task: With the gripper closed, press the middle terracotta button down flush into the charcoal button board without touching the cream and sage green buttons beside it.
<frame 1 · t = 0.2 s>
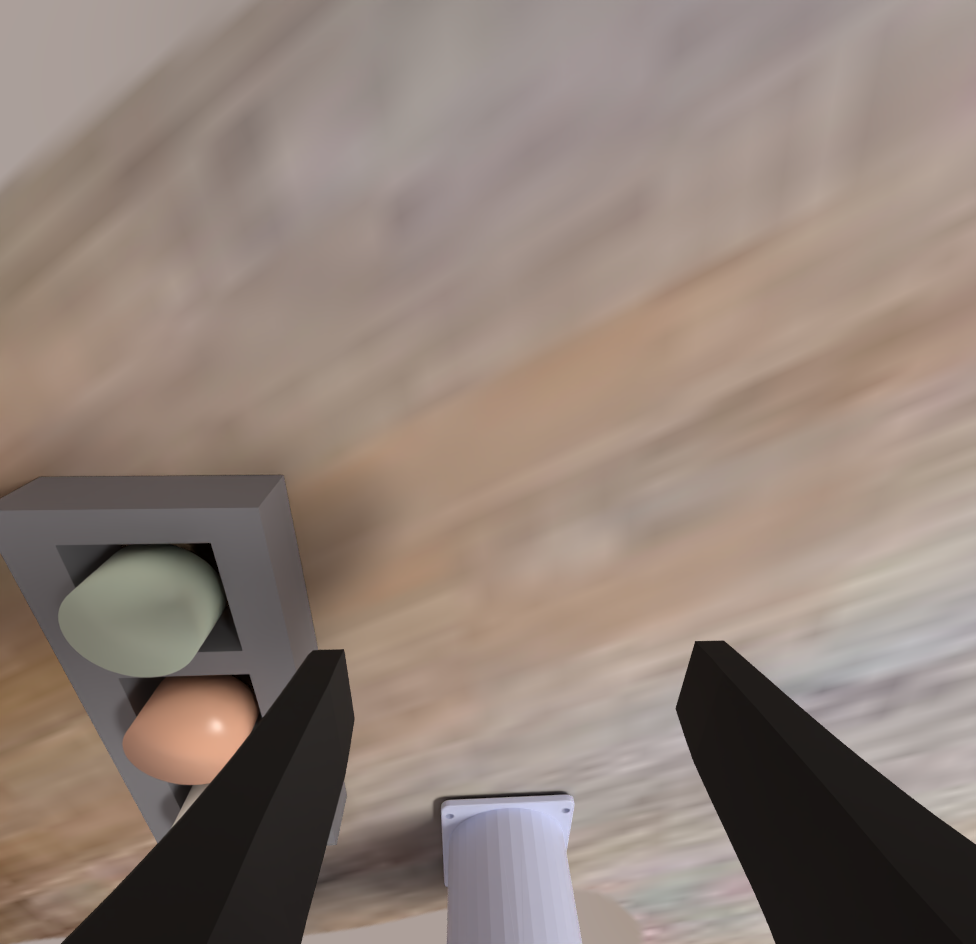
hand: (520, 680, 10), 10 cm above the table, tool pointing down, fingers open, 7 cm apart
cream button: (230, 814, 23), point 3 cm above the table, slide at 0.0 cm
button board: (226, 670, 22), on the table
sage button: (149, 609, 17), point 3 cm above the table, slide at 0.0 cm
terracotta button: (195, 726, 20), point 3 cm above the table, slide at 0.0 cm
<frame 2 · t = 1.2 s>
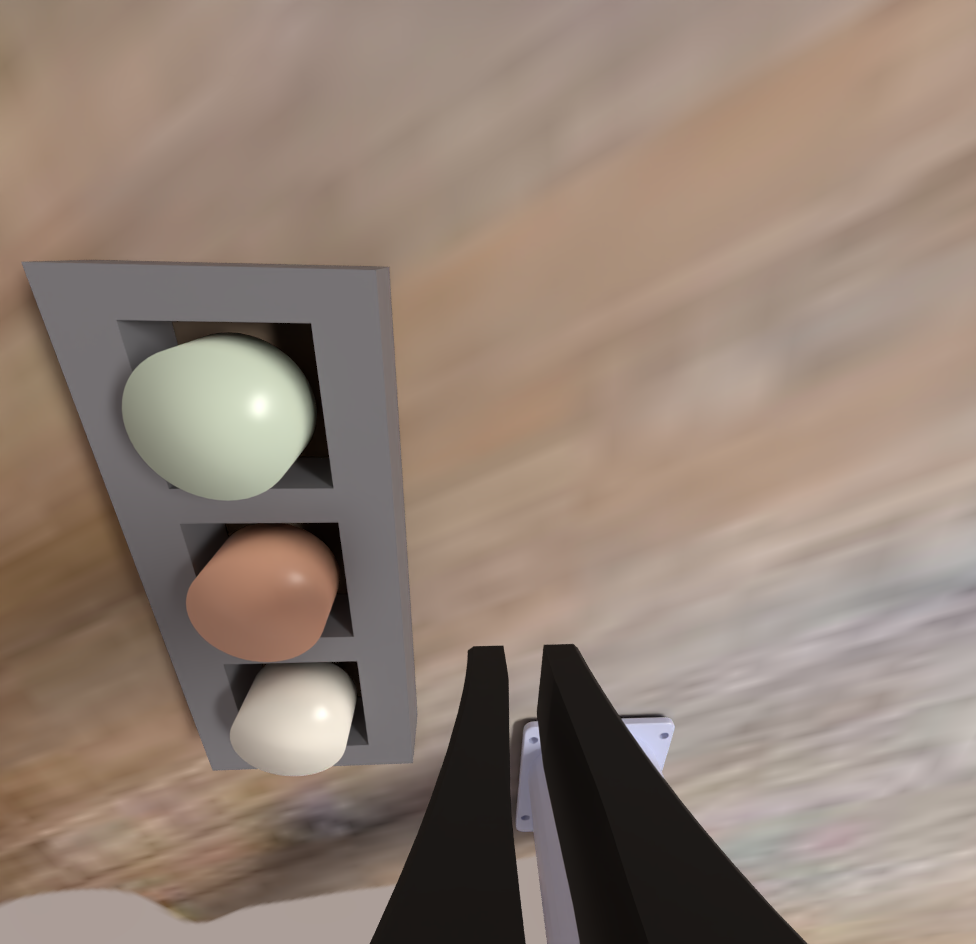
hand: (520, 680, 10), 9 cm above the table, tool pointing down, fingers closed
cream button: (297, 716, 19), point 3 cm above the table, slide at 0.0 cm
button board: (295, 544, 19), on the table
sage button: (228, 416, 13), point 3 cm above the table, slide at 0.0 cm
terracotta button: (269, 591, 16), point 3 cm above the table, slide at 0.0 cm
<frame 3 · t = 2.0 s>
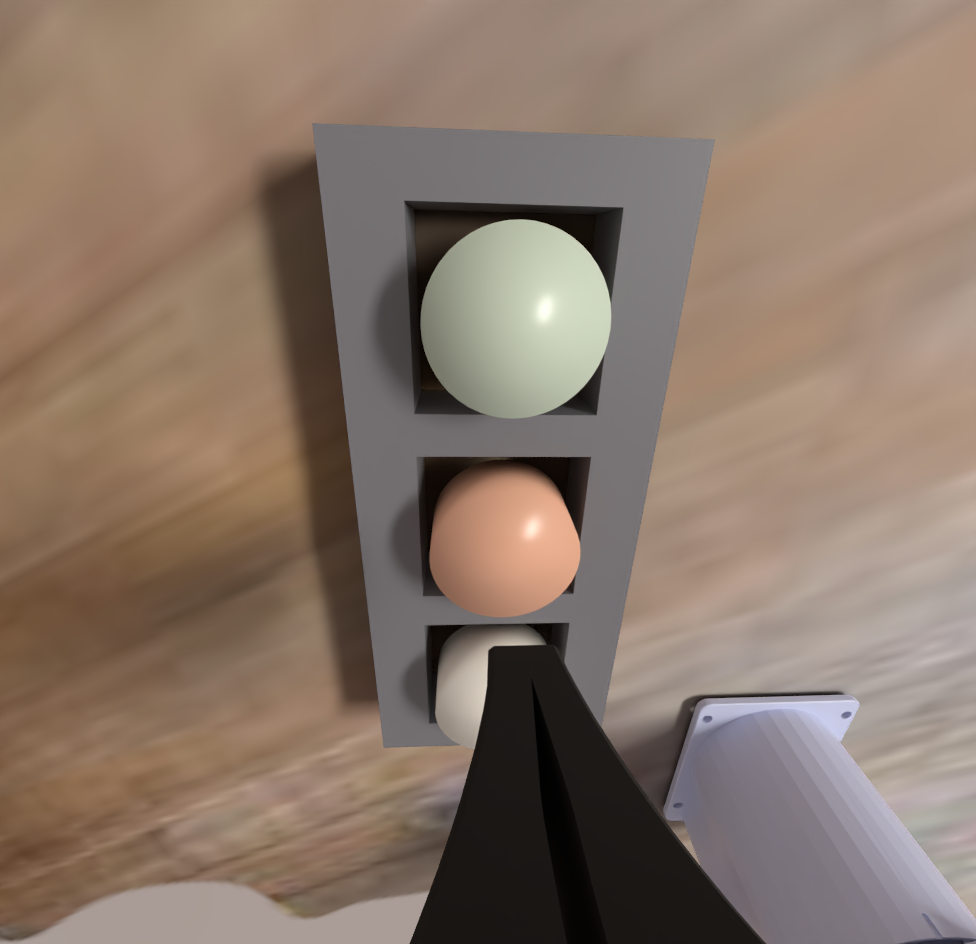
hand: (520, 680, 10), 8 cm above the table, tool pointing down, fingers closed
cream button: (496, 684, 17), point 3 cm above the table, slide at 0.0 cm
button board: (496, 494, 17), on the table
sage button: (511, 321, 12), point 3 cm above the table, slide at 0.0 cm
terracotta button: (502, 538, 14), point 3 cm above the table, slide at 0.0 cm
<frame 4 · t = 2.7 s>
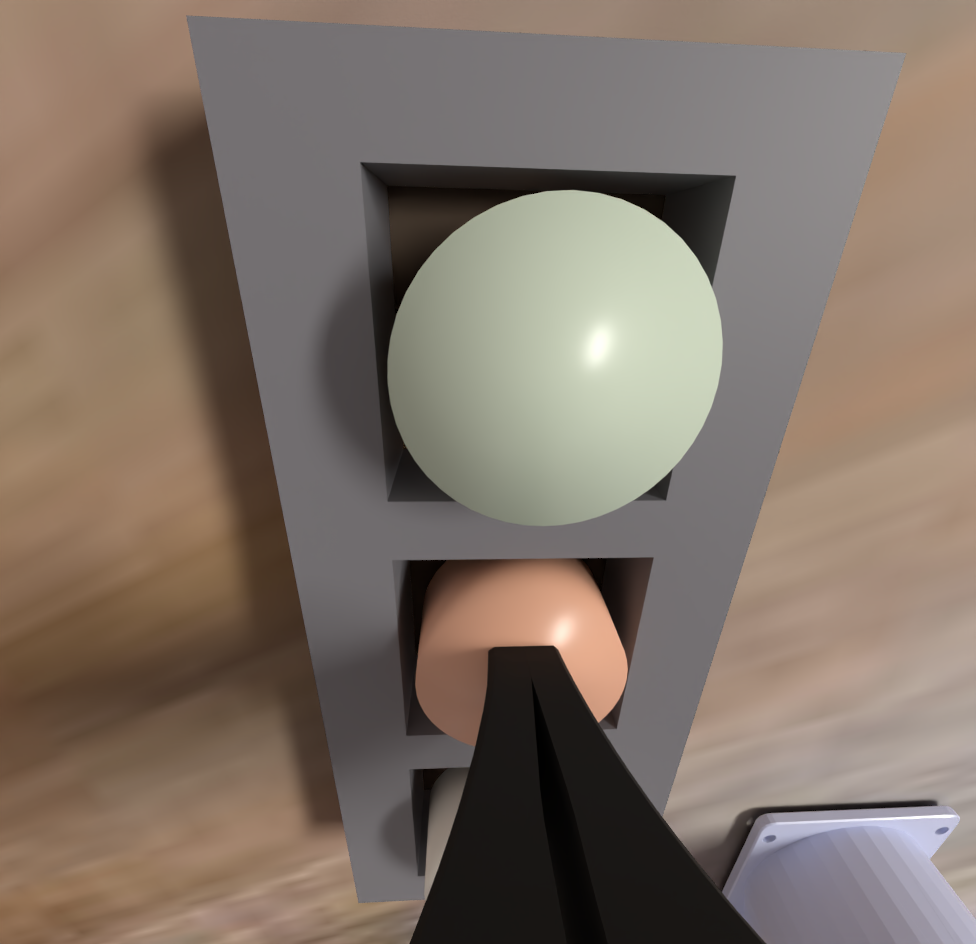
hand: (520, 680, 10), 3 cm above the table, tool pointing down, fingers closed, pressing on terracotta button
cream button: (507, 839, 13), point 3 cm above the table, slide at 0.0 cm
button board: (508, 582, 12), on the table
sage button: (542, 365, 7), point 3 cm above the table, slide at 0.0 cm
terracotta button: (516, 642, 11), point 2 cm above the table, slide at 0.8 cm, touching gripper
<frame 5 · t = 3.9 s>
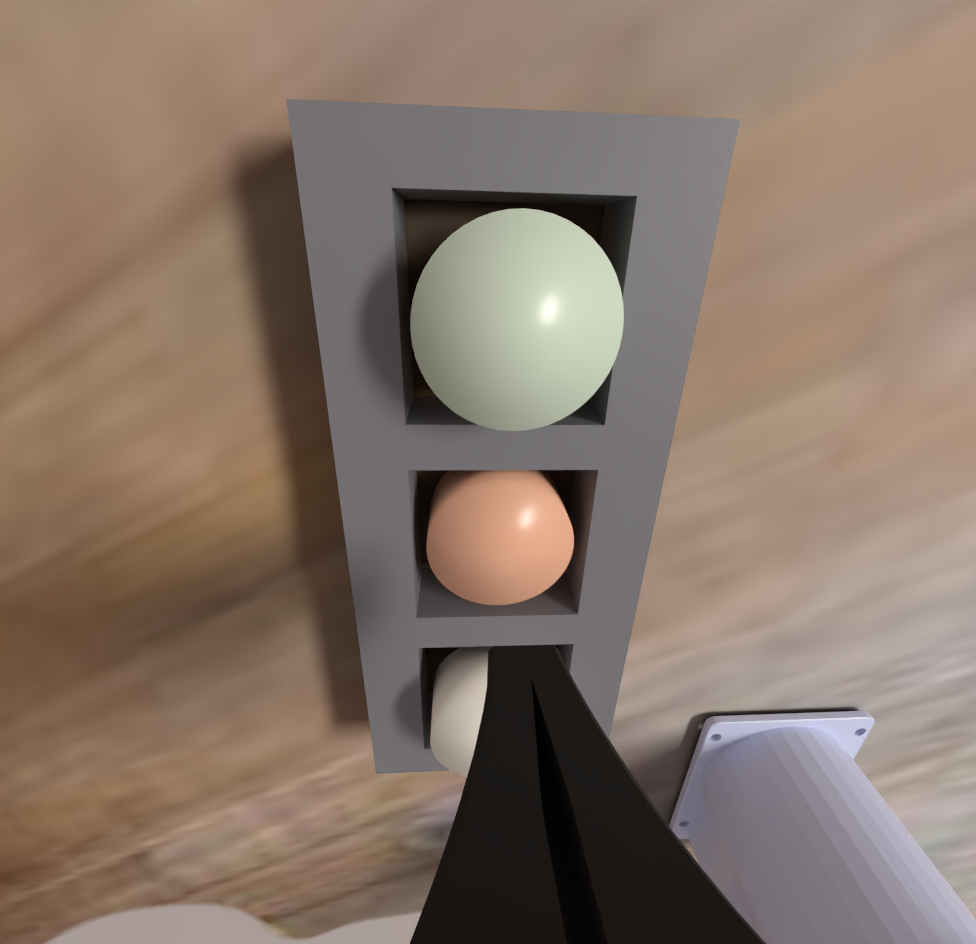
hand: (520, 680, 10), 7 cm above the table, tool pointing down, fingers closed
cream button: (495, 709, 16), point 3 cm above the table, slide at 0.0 cm
button board: (495, 506, 16), on the table
sage button: (512, 323, 11), point 3 cm above the table, slide at 0.0 cm
terracotta button: (497, 527, 15), point 1 cm above the table, slide at 1.6 cm
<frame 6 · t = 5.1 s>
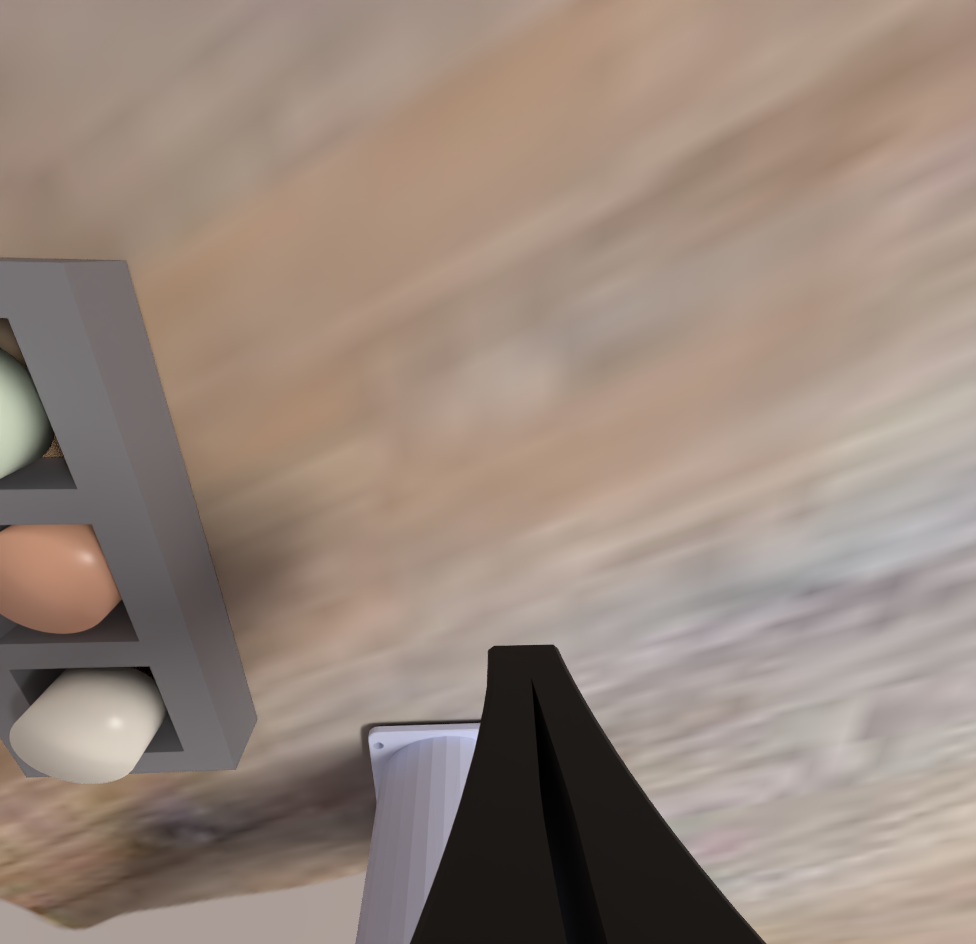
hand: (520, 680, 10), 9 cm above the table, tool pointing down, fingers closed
cream button: (95, 722, 19), point 3 cm above the table, slide at 0.0 cm
button board: (91, 546, 18), on the table
terracotta button: (65, 567, 17), point 1 cm above the table, slide at 1.6 cm
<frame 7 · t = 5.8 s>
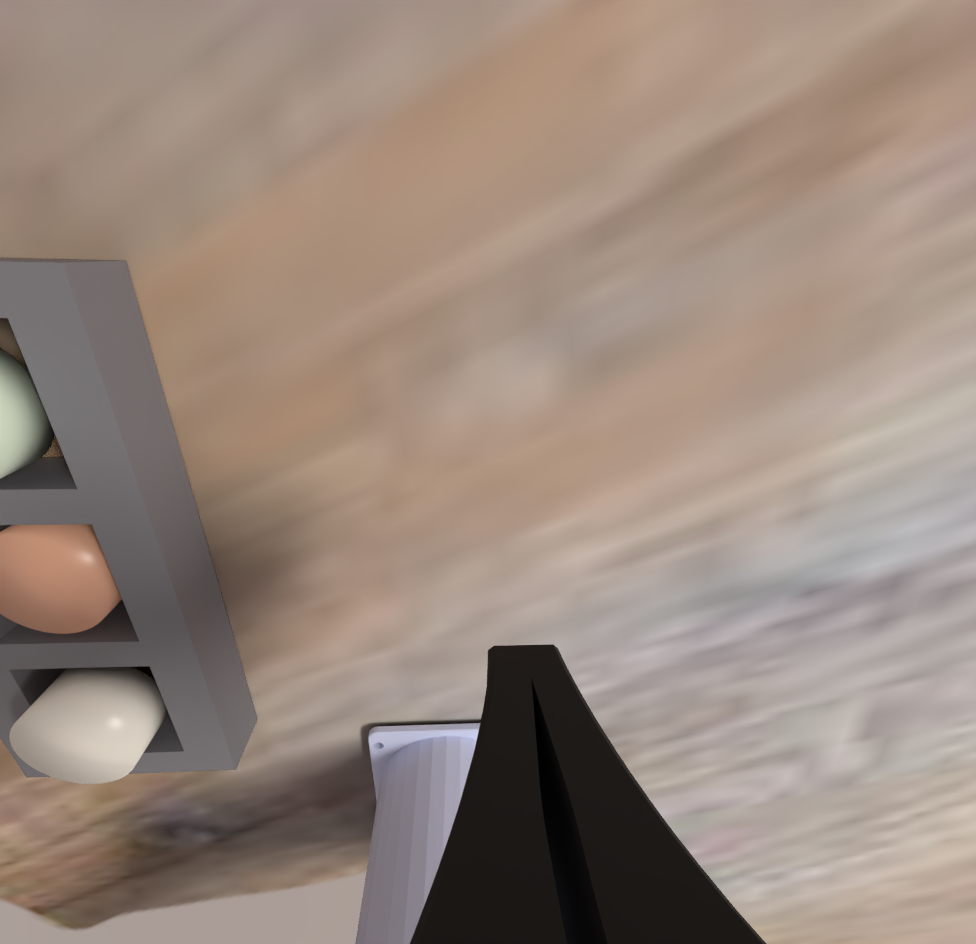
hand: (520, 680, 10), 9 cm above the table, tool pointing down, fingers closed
cream button: (95, 722, 19), point 3 cm above the table, slide at 0.0 cm
button board: (91, 546, 18), on the table
terracotta button: (65, 567, 17), point 1 cm above the table, slide at 1.6 cm
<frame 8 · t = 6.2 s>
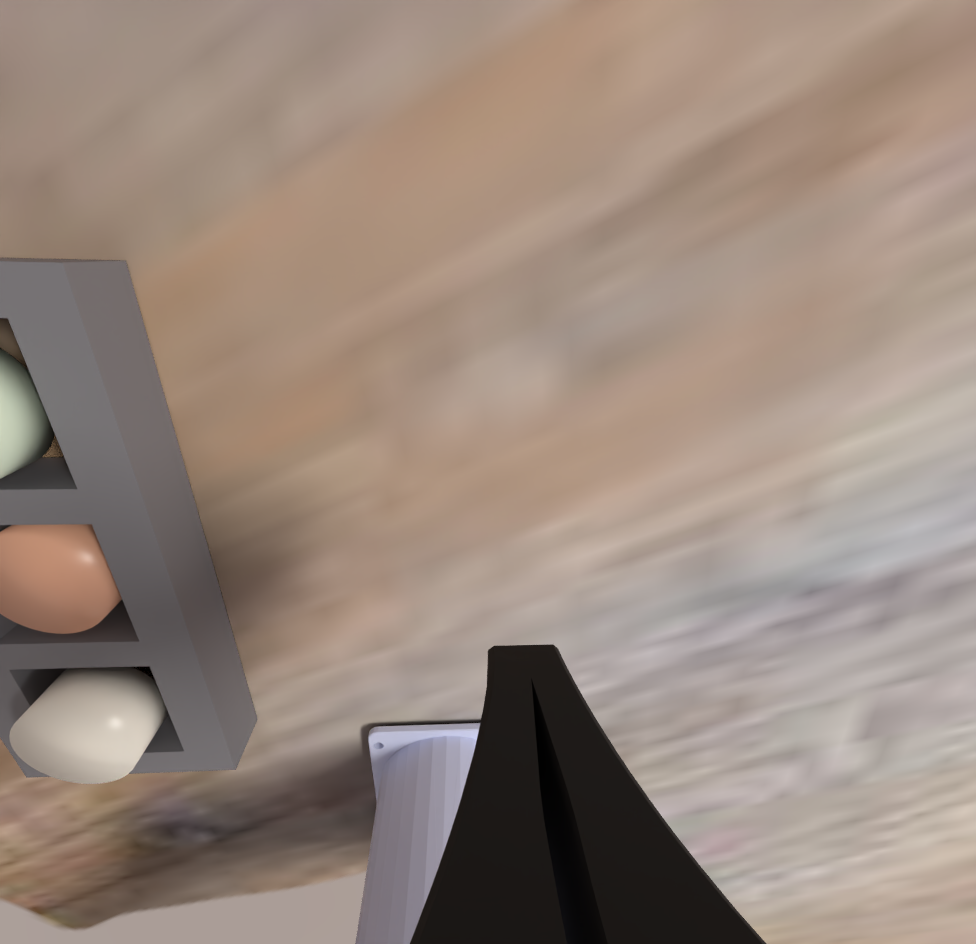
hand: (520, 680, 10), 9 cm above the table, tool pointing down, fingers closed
cream button: (95, 722, 19), point 3 cm above the table, slide at 0.0 cm
button board: (91, 546, 18), on the table
terracotta button: (65, 567, 17), point 1 cm above the table, slide at 1.6 cm
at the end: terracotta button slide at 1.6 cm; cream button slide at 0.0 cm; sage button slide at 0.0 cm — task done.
